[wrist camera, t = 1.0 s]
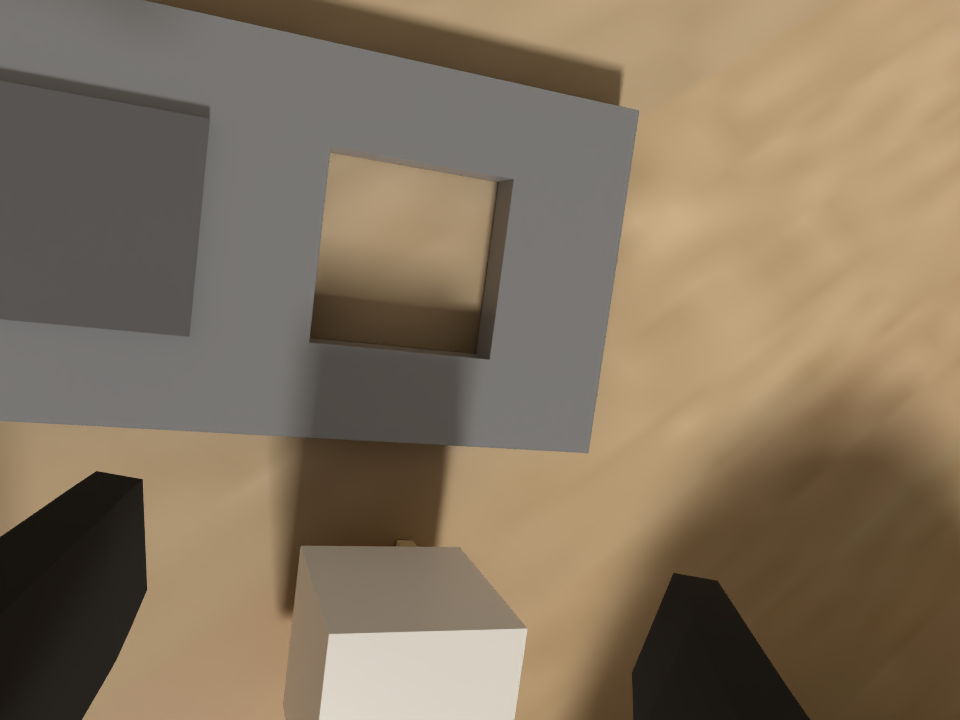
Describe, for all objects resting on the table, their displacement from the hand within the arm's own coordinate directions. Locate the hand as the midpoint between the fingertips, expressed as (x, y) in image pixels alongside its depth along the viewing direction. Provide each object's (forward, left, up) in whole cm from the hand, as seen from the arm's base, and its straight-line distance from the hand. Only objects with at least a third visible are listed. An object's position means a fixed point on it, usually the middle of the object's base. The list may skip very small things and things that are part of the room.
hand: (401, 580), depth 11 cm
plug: (-6, -2, -12) cm, 13 cm away
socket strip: (+4, +2, -12) cm, 13 cm away
